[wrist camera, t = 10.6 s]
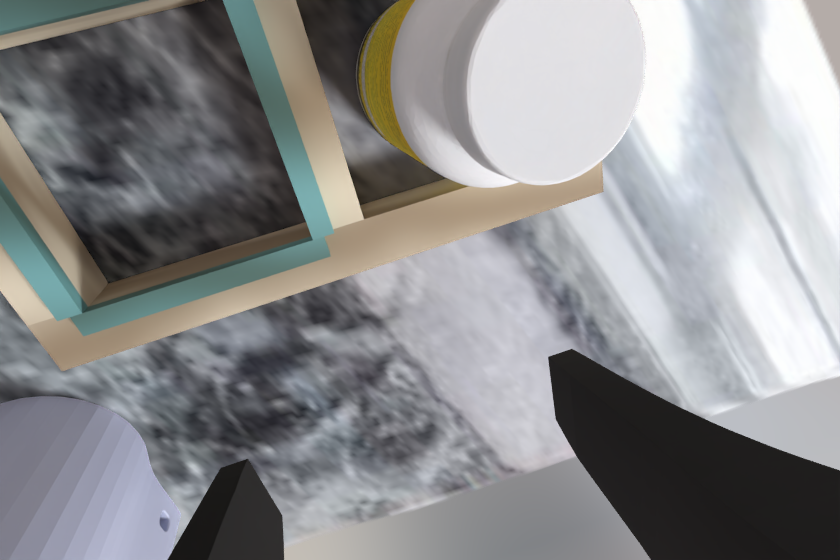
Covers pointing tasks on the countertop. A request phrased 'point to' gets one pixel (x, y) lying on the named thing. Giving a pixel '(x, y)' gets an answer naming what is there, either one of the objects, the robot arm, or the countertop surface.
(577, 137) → the supplement bottle
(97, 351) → the panel
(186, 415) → the countertop surface
